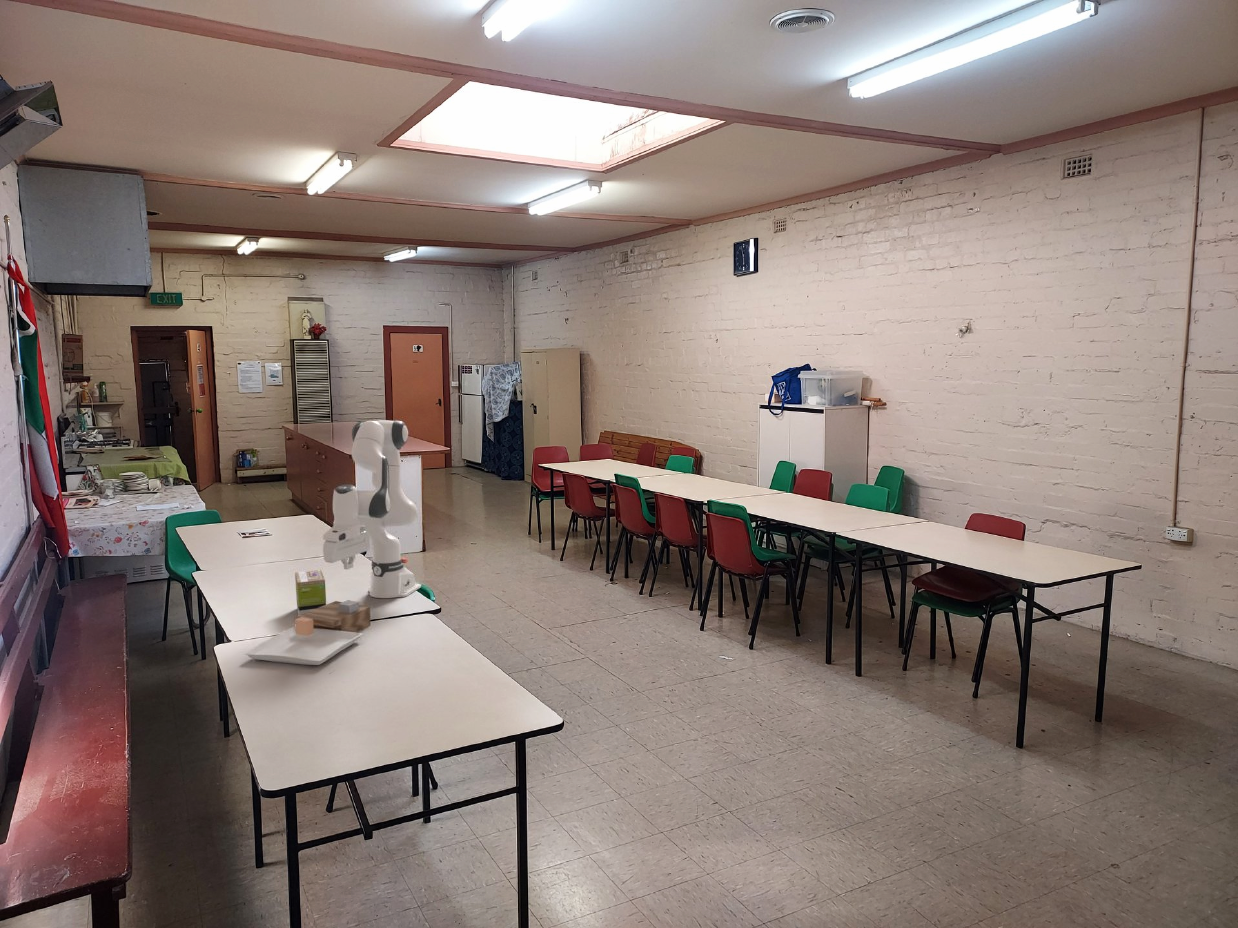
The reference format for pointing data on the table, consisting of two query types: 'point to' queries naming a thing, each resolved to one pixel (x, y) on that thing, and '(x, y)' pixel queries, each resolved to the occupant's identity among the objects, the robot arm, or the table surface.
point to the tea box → (310, 590)
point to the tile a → (304, 626)
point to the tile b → (348, 606)
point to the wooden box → (338, 618)
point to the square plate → (304, 646)
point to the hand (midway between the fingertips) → (348, 568)
